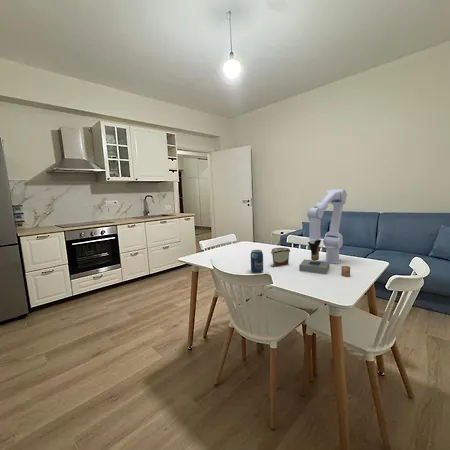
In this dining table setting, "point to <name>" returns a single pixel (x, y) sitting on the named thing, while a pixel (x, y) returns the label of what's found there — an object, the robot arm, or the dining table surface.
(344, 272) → the short pin
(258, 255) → the soda can
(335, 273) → the dining table surface
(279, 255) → the food container
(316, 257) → the tall pin
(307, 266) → the hole plate
